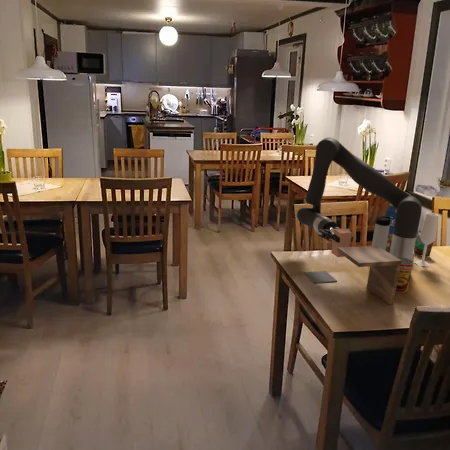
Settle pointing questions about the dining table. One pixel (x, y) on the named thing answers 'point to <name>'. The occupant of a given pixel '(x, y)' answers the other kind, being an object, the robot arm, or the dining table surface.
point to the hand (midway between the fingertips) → (345, 240)
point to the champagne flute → (428, 234)
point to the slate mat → (320, 277)
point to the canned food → (404, 274)
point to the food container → (421, 246)
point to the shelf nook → (376, 269)
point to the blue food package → (390, 213)
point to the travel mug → (381, 232)
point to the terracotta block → (341, 241)
